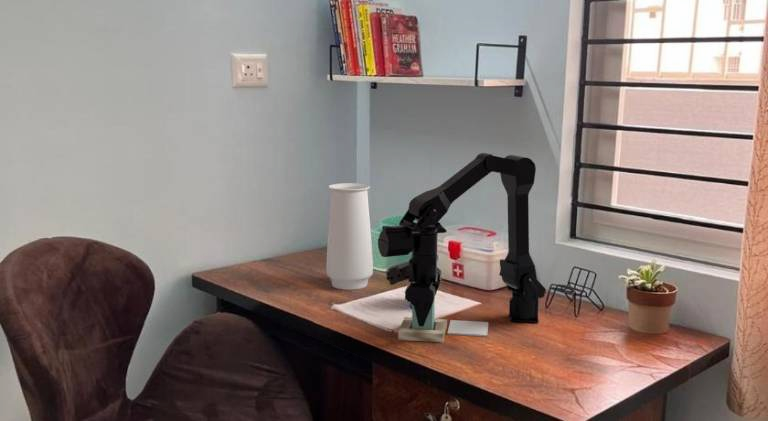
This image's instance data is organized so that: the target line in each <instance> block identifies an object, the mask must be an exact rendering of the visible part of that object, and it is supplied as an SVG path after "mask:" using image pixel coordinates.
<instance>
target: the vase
mask: <svg viewBox="0 0 768 421" xmlns="http://www.w3.org/2000/svg"><path fill="white" fill-rule="evenodd" d="M370 188H371V186H370V185H369V184H364V183H356V182H352V183H351V182H349V183H347V182H345V183H344V182H343V183H342V182H341V183H334V184H330V185H328V189H329V190H330V202H329V203H330V204H329V215H328V229H327V230H328V231H327V245H326V246H327V248H326V270H325V271H326V275H327V277H328V278H330V281H331V285H332V287H333V288H336V289H338V290H345V291H346V290H347V291H349V290H352V291H353V290H359V289H364V288H366V287H367V286H368V282H369V279H370V277H372V275H373V274H374V266H373V264H374V263H373V261H374V260H373V247H372V232H371V231H372V230H371V219H370V209H369V195H368V190H370Z"/></svg>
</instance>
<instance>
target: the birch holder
mask: <svg viewBox="0 0 768 421" xmlns="http://www.w3.org/2000/svg"><path fill="white" fill-rule="evenodd" d="M447 329H448V319H447V318H446V319H444V318H443V319H442V318H434V330H423V329H412V316H410V317H409V316H405V317H404V318H403V319H402V322H401V324H400V327H399V329H398V332H397V334H398V335H397V340H398V341H412V342H428V343H443V344H444V340H445V336H446V332H447Z"/></svg>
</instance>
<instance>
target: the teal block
mask: <svg viewBox="0 0 768 421" xmlns="http://www.w3.org/2000/svg"><path fill="white" fill-rule="evenodd" d="M411 314H412V316H411V317H412V329H423V330H434V319H435V301H434V302H433V304H432V307H431V309H430V312H429V314H428V316H427V319H426V321H425V324H424V326H419V325H418V321H417V317H416V313H415V309H414V306H413V304H412V308H411Z"/></svg>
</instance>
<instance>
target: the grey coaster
mask: <svg viewBox="0 0 768 421" xmlns="http://www.w3.org/2000/svg"><path fill="white" fill-rule="evenodd" d="M449 321H450V322H449V325H448V327H447V329H448V330H447V331H446V332H447V334H446V335H451V336H452V335H454V336H469V337H485V338H486V337H488V332H489V322H488V321H473V320H472V321H471V320H456V319H454V320H453V319H450V320H449Z"/></svg>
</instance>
